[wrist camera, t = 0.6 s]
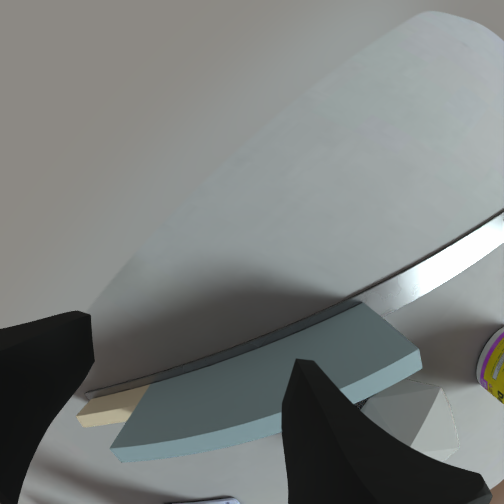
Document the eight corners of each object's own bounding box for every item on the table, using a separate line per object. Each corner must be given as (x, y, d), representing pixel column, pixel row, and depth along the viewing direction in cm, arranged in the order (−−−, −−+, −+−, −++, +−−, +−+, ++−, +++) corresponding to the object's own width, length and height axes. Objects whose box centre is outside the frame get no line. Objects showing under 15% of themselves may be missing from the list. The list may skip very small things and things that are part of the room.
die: (332, 373, 21) (318, 497, 14) (443, 339, 16) (454, 483, 9) (372, 402, 24) (365, 496, 17) (457, 377, 19) (463, 480, 12)
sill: (100, 412, 21) (98, 414, 21) (86, 392, 21) (84, 393, 21) (524, 223, 18) (526, 223, 18) (519, 199, 18) (521, 199, 18)
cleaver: (98, 409, 21) (56, 462, 13) (91, 398, 21) (45, 450, 13) (368, 316, 19) (422, 368, 11) (363, 302, 19) (418, 348, 11)
